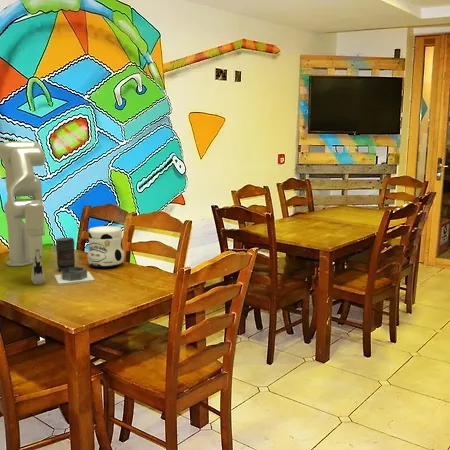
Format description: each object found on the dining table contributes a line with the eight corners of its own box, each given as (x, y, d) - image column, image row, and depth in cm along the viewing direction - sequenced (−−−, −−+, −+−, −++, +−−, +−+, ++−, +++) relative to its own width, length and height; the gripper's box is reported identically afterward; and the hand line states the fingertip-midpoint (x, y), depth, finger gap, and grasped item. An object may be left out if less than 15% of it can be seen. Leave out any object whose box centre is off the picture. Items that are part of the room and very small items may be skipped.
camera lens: (78, 268, 261) (76, 237, 258) (71, 272, 253) (70, 240, 250) (61, 267, 261) (59, 236, 259) (54, 272, 253) (52, 240, 251)
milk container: (87, 270, 256) (85, 232, 253) (88, 262, 273) (87, 226, 270) (124, 269, 260) (123, 231, 256) (124, 260, 276) (123, 225, 273)
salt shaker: (33, 281, 238) (31, 252, 236) (46, 281, 238) (45, 252, 236) (29, 285, 232) (27, 255, 230) (43, 285, 233) (41, 255, 230)
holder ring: (60, 275, 244) (60, 268, 243) (84, 273, 248) (84, 265, 247) (63, 281, 234) (63, 273, 234) (88, 279, 238) (88, 271, 238)
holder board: (54, 277, 245) (54, 275, 244) (89, 274, 250) (88, 271, 250) (58, 285, 232) (58, 283, 232) (94, 281, 238) (94, 279, 238)
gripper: (24, 229, 237) (27, 270, 241) (27, 235, 223) (30, 279, 226) (42, 228, 240) (45, 268, 243) (46, 234, 225) (49, 277, 229)
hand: (37, 273), depth 235 cm, fingers closed on salt shaker, 3 cm apart
